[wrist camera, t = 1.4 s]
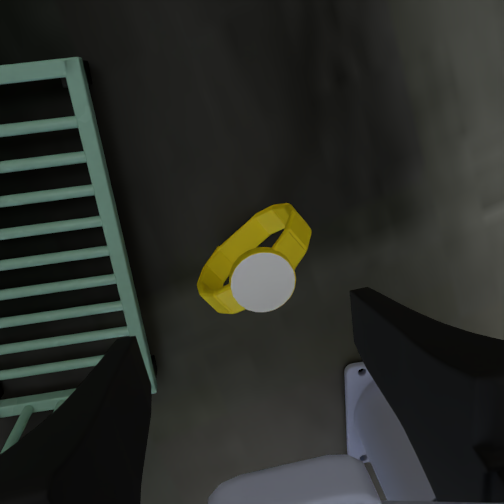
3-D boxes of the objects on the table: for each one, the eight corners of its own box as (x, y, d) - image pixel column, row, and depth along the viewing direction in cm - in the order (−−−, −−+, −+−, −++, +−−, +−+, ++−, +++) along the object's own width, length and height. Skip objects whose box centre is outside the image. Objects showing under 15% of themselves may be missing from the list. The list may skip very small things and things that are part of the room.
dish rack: (89, 57, 20) (44, 52, 14) (159, 370, 27) (148, 455, 21) (-145, 84, 20) (-291, 90, 14) (-15, 397, 26) (-77, 492, 20)
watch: (221, 289, 25) (228, 350, 20) (186, 255, 24) (183, 309, 19) (305, 219, 24) (337, 263, 19) (273, 181, 23) (296, 215, 18)
